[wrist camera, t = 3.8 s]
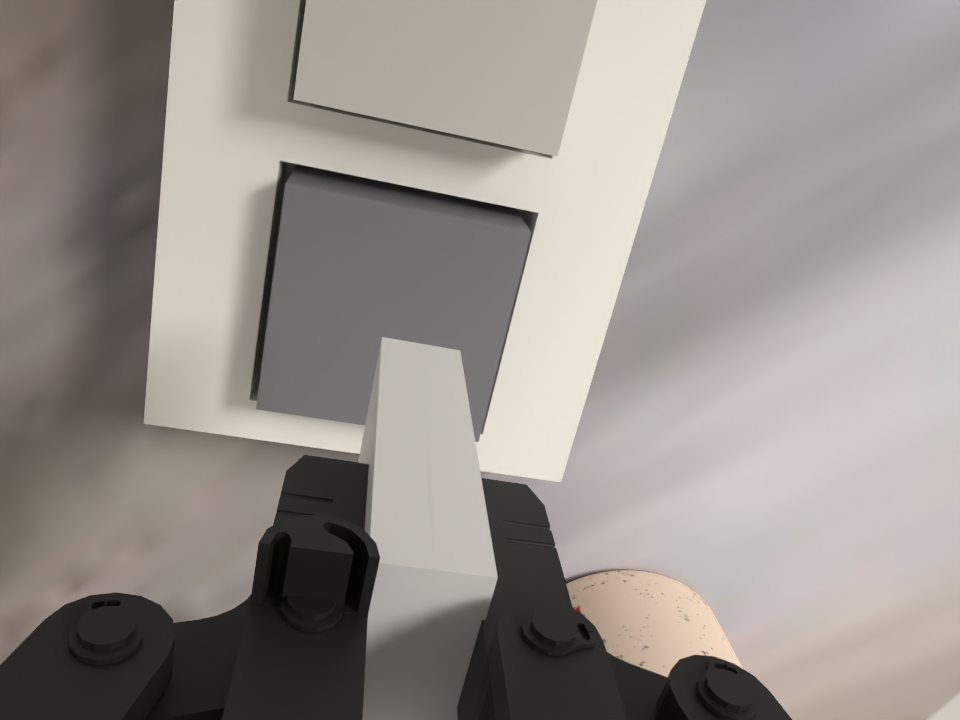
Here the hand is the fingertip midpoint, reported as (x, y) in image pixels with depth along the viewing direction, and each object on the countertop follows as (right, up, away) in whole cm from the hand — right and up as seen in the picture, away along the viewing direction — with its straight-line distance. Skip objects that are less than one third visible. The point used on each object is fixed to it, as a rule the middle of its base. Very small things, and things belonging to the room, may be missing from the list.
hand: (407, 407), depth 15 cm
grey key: (+1, +10, +4) cm, 11 cm away
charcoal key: (-1, +3, +8) cm, 8 cm away
